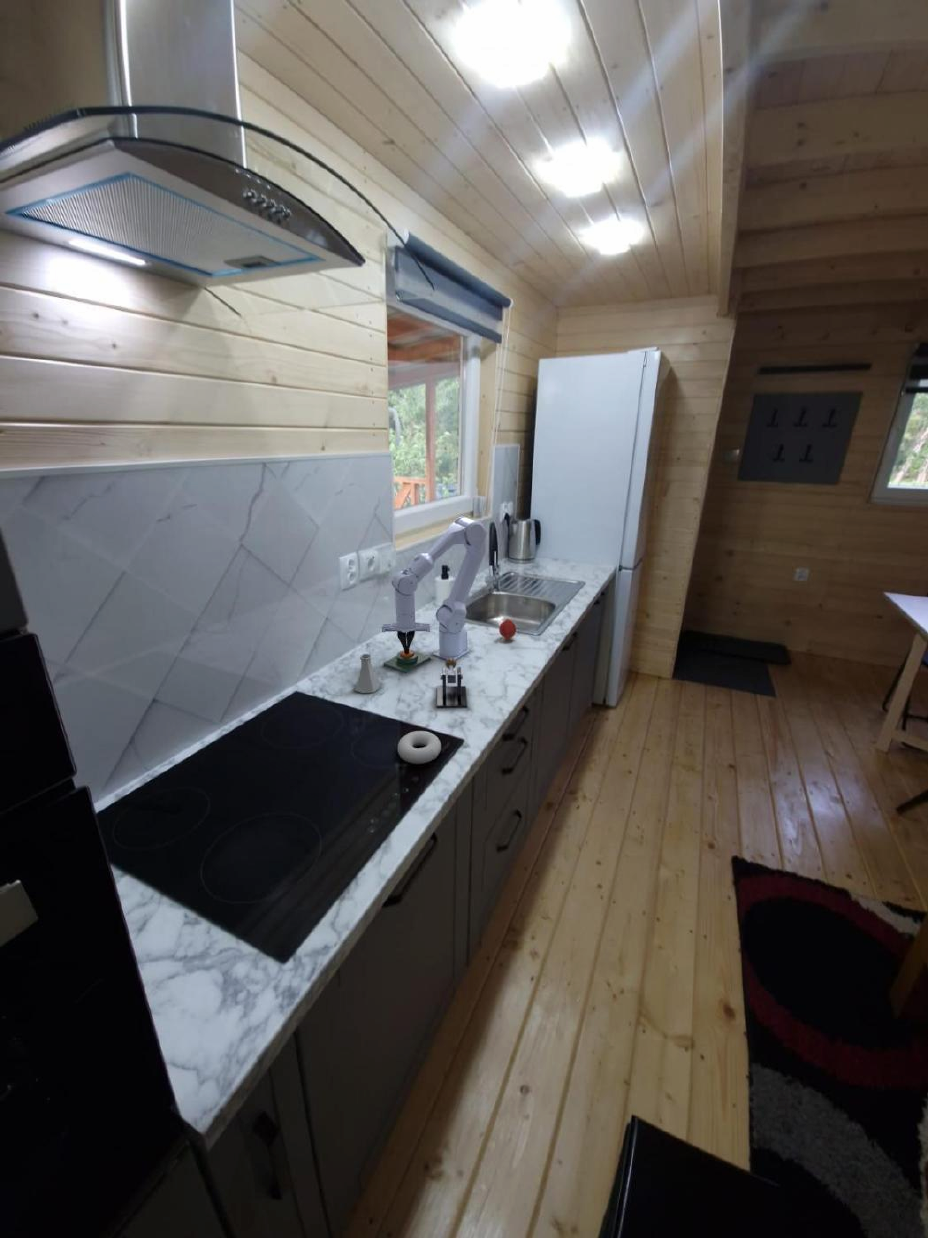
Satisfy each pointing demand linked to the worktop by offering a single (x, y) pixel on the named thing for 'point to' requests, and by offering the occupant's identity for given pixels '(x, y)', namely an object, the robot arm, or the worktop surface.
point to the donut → (419, 754)
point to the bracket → (451, 692)
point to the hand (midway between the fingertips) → (406, 652)
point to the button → (407, 654)
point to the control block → (406, 661)
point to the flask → (367, 676)
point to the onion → (507, 629)
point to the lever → (451, 670)
